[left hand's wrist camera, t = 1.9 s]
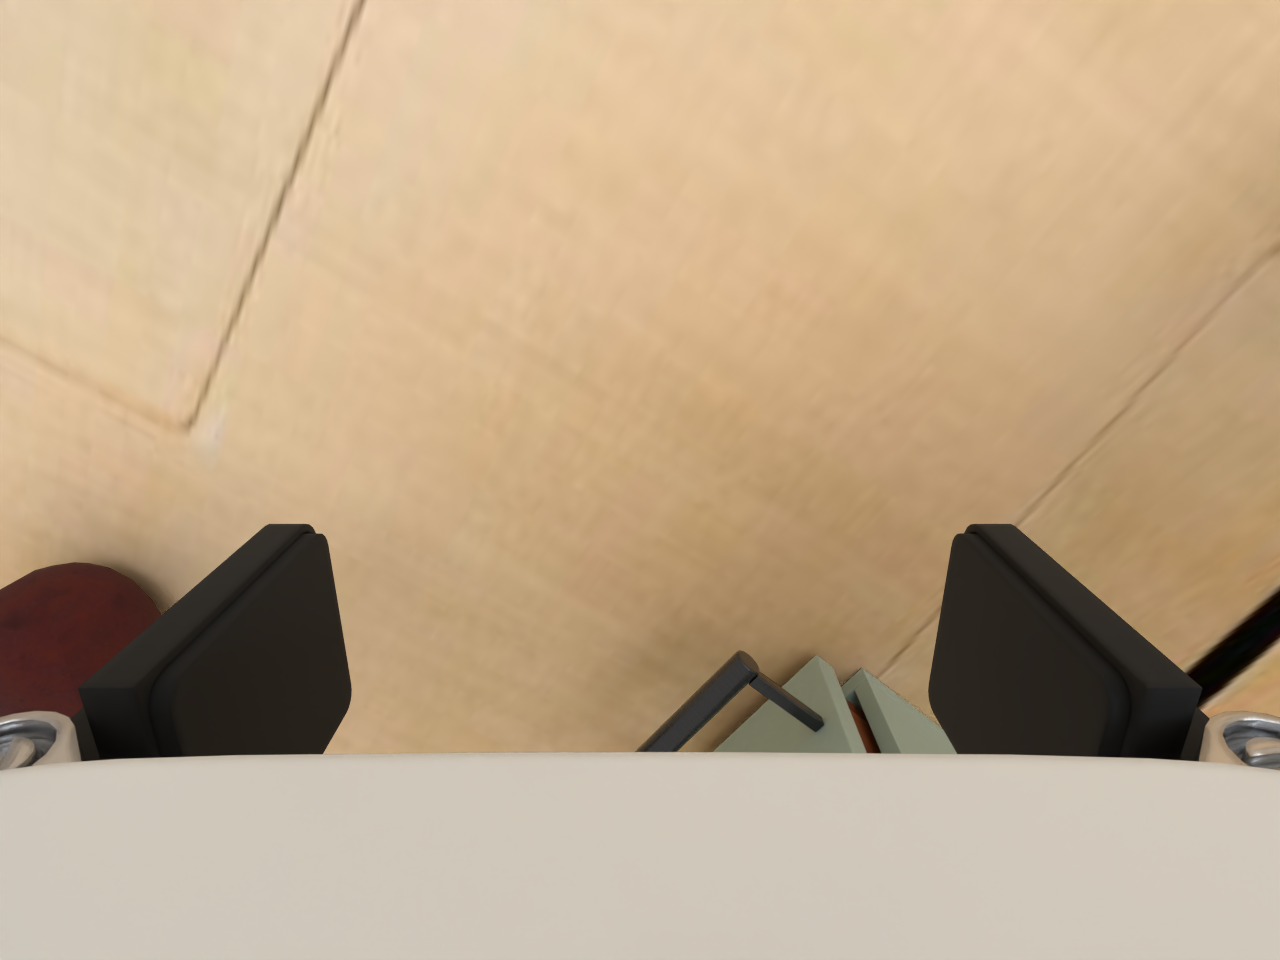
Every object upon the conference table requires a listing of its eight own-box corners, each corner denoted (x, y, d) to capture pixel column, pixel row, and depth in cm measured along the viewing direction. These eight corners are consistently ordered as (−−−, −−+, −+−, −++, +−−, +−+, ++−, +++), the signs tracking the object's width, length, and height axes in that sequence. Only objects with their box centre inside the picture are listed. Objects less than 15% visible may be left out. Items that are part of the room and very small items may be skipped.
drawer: (614, 718, 38) (606, 835, 31) (736, 594, 36) (758, 691, 29) (917, 922, 43) (970, 1063, 36) (1045, 826, 41) (1129, 958, 34)
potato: (63, 667, 39) (-57, 763, 32) (31, 532, 36) (-107, 607, 29) (205, 677, 39) (115, 775, 32) (184, 543, 36) (80, 620, 29)
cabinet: (724, 791, 41) (745, 954, 32) (861, 667, 38) (926, 808, 29) (952, 945, 45) (1027, 1127, 37) (1093, 843, 42) (1211, 1014, 34)
